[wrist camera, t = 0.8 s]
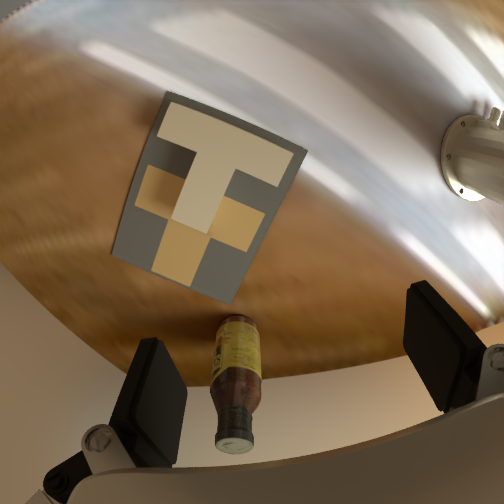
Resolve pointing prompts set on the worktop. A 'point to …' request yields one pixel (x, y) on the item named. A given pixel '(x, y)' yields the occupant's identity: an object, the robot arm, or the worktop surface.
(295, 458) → the robot arm
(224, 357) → the sauce bottle
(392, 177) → the worktop surface
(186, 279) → the mat
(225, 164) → the T block
